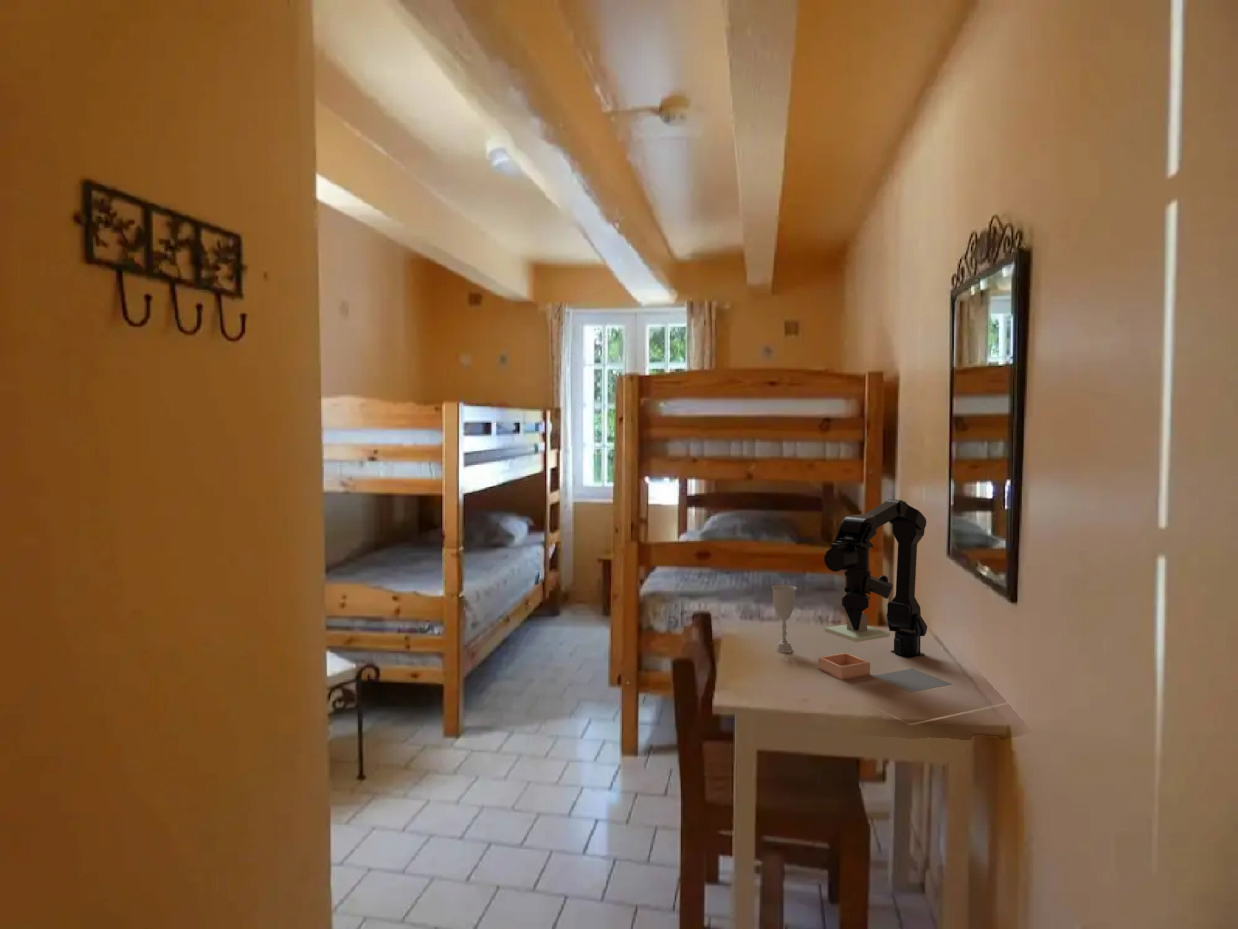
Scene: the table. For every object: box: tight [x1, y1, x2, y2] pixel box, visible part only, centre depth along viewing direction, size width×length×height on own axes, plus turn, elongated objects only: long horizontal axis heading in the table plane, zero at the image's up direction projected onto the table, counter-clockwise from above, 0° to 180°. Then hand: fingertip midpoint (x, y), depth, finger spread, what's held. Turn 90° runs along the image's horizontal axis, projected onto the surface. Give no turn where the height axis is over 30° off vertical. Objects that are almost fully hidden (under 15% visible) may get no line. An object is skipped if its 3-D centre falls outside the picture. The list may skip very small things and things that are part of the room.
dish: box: [817, 652, 871, 681], centre depth 194 cm, size 9×9×4 cm
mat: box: [872, 668, 952, 693], centre depth 188 cm, size 13×13×1 cm
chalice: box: [771, 584, 797, 654], centre depth 214 cm, size 7×7×18 cm
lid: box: [824, 613, 891, 643], centre depth 192 cm, size 11×11×5 cm
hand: (856, 627), depth 192 cm, fingers closed on lid, 5 cm apart
